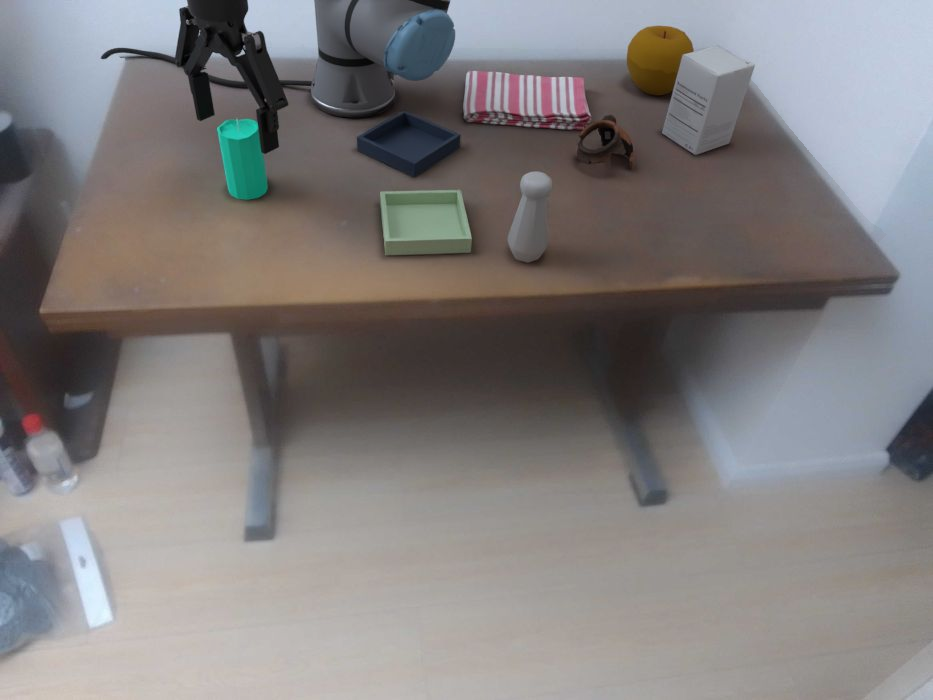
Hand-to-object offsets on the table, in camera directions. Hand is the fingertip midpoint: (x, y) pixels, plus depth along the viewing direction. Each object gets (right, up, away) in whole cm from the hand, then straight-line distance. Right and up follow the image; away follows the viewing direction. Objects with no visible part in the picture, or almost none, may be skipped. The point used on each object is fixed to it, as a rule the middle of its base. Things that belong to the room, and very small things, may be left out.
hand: (237, 133), depth 112 cm
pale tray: (+27, -14, +3) cm, 31 cm away
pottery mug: (+57, +1, +20) cm, 61 cm away
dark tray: (+24, +2, +18) cm, 30 cm away
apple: (+71, +21, +41) cm, 84 cm away
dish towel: (+45, +14, +32) cm, 57 cm away
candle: (0, -7, +7) cm, 10 cm away
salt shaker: (+42, -18, 0) cm, 46 cm away
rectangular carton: (+75, +7, +27) cm, 80 cm away
